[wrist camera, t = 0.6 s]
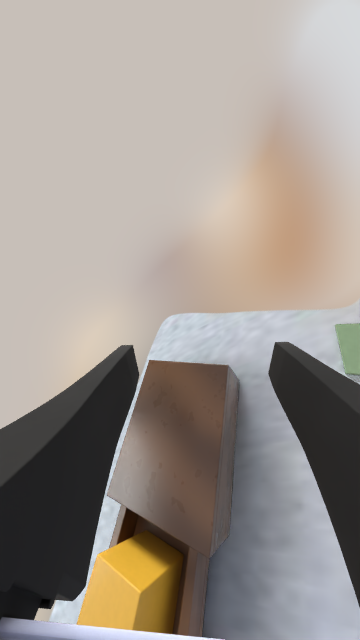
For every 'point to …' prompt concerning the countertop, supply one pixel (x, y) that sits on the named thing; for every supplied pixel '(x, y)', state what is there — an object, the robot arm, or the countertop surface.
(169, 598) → the block
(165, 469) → the cabinet
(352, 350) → the pad
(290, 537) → the countertop surface
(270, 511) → the countertop surface
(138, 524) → the drawer
